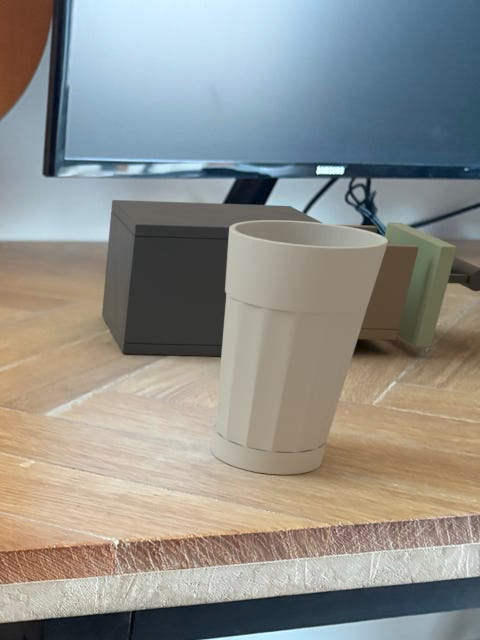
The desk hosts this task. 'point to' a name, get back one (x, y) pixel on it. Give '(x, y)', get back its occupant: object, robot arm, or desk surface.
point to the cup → (289, 338)
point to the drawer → (412, 285)
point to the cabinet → (173, 273)
